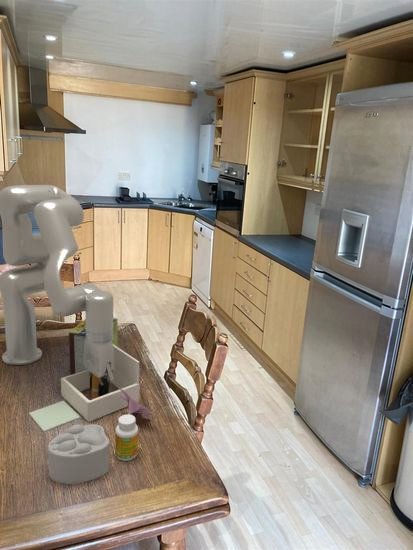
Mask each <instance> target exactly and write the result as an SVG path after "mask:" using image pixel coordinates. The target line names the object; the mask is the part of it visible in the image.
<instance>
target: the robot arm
mask: <svg viewBox="0 0 413 550" xmlns="http://www.w3.org/2000/svg"><path fill="white" fill-rule="evenodd" d="M28 214H33V217H34V219H35V223H36V225H37V228H38V230H39V233H38V232H37V233H32V232H33V225H32V224H33V223H32V220H31V219H30V217H29V216H28ZM0 218H1V225H2V229H1V230H2V253H3V254H2V255H3V256H2V257H3V259H4V262H5V263H6V264H7V265H9V266H12V267H13V266H14V268H11V269H10V268H9V269H7V270H5V271H3V272H2V273H1V274H0V295H1V299H2V300H1V301H2V306H3V307H2V308H3V316H4V317H3V318H4V328H5V329H4V330H5V343H6V344H5V345H6V351H5V352H4V353H2V355H1V358H2V362H4V363H5V364H7V365H10V366H25V365H29V364H32V363H34V362H37V361H38V360H39V359H41V358H42V357H43V351H42V349H40V348H39V347H37V346H38V343H37V326H36V325H37V323H36V310H35V309H36V308H35V306H34V304H33V302H32V301H31V300H30V298H28V296H30V295H34V294H38V293H42V292H45V294H46V296H47V299H48V301H49V303H50V306H51V308H52V309H53V311H54V312H55V314H57V315H58V316H60V317H69V316H72V315H76V314H79V313H82V312H85V319H86V337H85V342H84V354H83V364H84V366H85V367H86V368H87V369H88V370H89V376H91V377H90V388H89V390H91V391H92V373H93V374H94V375H95V376H96V377H98V378H99V382H100V384H98V396H99V397H101V396H103V395H106V394H109V393H110V383H111V382H110V381H112V380H114V377H113V371H114V352H113V343H112V340H113V318H114V296H113V294H112V293H111V292H110V291H107V290H102V289H101V288H100V287H98V286H97V285H95V284H93V283H84V284H79V285H74V286H71V287H66V288H64V285H63V282H62V280H61V270H62V266H63V265H64V263H65V262H66V260H69V258H71V257H72V256H74V255H75V254H77V252H78V251H79V245H78V242H77V240H76V237H75V235H74V232H73V230H72V227H78V226H80V225H82V223H83V221H84V218H85V213H84V209H83V207H82V205H81V204H80V202H79V201H78V200H77V199H76V198H75V197H73V196H72V195H70V194H69V193H67V192H66V191H64V190H62V189H61V188H59V187H57V186H56V185H52V184H22V185H19V184H18V185H11V186H10V185H9V186H7V187H4V188H2V189H1V190H0ZM25 265H26V266H25ZM16 266H20V267H16ZM105 371H106V372H105ZM104 376H106V378H105V379H104V380H103V377H104Z"/></svg>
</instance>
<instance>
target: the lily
mask: <svg viewBox="0 0 413 550" xmlns="http://www.w3.org/2000/svg"><path fill="white" fill-rule="evenodd" d="M118 390H121V391H122V392H123V393H124V395H125V397H126V399H127V400H126V399H125V398H124V397H121V396H119V397H121V398H122V399H124V400H125V401H126V402H127V403H128V406H127V407H128V413H127V414H129V415H131V414H133V413H135V414H136V413H137V414H138V413H139V414H141V415H143V416H145V417H146V418H147V419H148V420H150V421H151V420H152V419H151V418H150V417H149V415H148V414H151V415H154V412H152V411H151V410H150V409H148V408H147V407H145V406H144V405H141V403H140V400H139V401H138V400H137V401H138V402H136V401H135V400H133V399H131V397H130V396H129V395H128V394H127V393H126V392H125V391H123V390H122V389H120V388H118ZM146 413H148V414H146Z"/></svg>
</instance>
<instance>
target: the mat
mask: <svg viewBox="0 0 413 550" xmlns="http://www.w3.org/2000/svg"><path fill="white" fill-rule="evenodd" d="M28 415H29V416H30V418H32V420H33V421H34V423H36V424H37V426H38V427H39V428H40V429H41V431H42V432H43V433H46V432H48V431H51V430H53V429H56V428H59V427H60V426H64V425H66V424H68V423H72V422H74V421H76V420H79V419H81V416H80V415H79V414H78V413H77V412H76V411H75V410H74V408H72V406H71V405H70V404H68V403H67V401H65V400H61V401H58V402H56V403H53V404H50V405H47V406H45V407H42V408H39V409H36V410H34V411H30V412H28Z"/></svg>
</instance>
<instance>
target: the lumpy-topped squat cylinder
mask: <svg viewBox="0 0 413 550" xmlns="http://www.w3.org/2000/svg"><path fill="white" fill-rule="evenodd" d="M110 446H111V445H110V439H109V437H108V436H107V435H106V433H105V429H104V427H103V426H102V425H100V424H96V423H95V424H92V423H91V424H86V425H82V424H79V423H78V424H73V425H71V426H70V427H68V429H66V430H64V431H62V432H61V433H59V434H57V435H56V436H55V437H54V438H52V439H51V440H50V442H49V443H48V446H47V456H48V457H47V459H48V460H47V461H48V476H49V477H50V479H51V480H52V481H54V482H56V483H59V484H63V485H65V484H67V485H77V484H83V483H85V482H89V481H92V480H95V479H98V478H101V477H103V476H104V475H106V474H107V473H108V472H109V470H110V467H111V464H110V462H111V460H110V459H111V457H110V456H111V455H110V453H111V451H110V450H111V447H110Z"/></svg>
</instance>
